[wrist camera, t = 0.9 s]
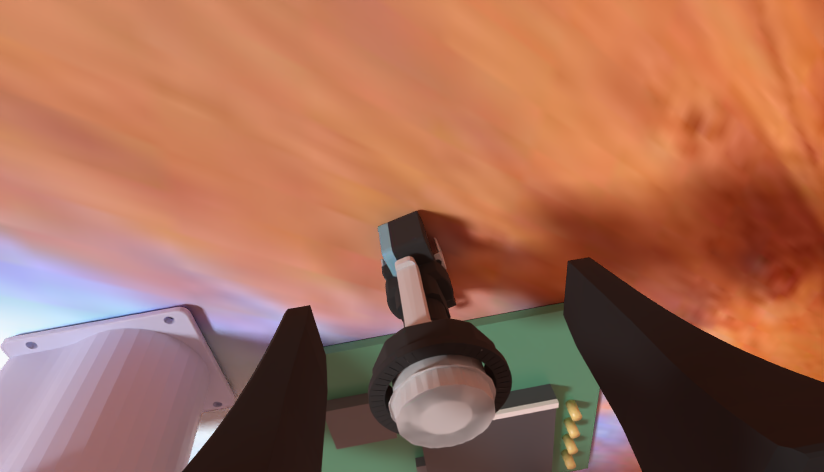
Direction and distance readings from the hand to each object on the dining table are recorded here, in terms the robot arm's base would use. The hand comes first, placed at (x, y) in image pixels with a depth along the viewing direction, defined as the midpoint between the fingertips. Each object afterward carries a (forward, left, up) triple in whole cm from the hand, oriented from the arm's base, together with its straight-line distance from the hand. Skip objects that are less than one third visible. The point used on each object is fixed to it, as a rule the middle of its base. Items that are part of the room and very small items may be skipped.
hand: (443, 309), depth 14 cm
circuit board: (+1, -20, -10) cm, 23 cm away
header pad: (+3, -23, -10) cm, 25 cm away
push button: (0, -6, -11) cm, 12 cm away
